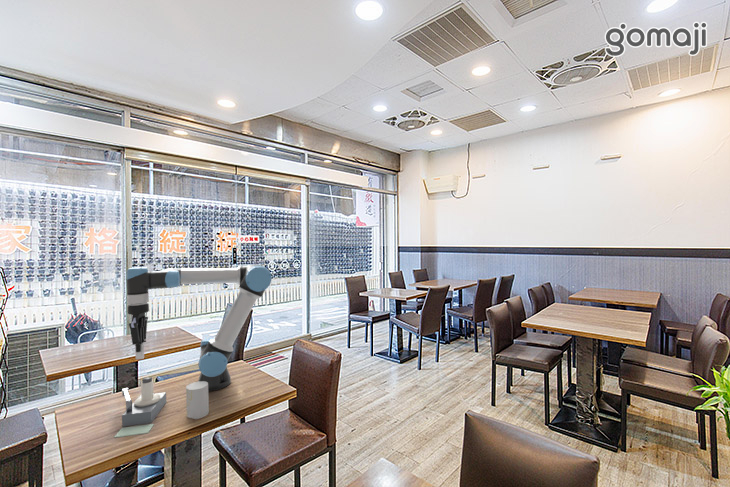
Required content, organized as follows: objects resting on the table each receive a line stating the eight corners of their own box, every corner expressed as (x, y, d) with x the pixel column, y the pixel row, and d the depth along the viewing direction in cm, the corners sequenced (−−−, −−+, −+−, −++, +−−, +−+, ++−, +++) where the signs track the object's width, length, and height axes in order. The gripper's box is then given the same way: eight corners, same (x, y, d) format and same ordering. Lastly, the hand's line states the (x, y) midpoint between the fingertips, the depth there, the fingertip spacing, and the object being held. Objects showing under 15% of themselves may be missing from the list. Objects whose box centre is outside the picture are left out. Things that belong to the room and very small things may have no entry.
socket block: (166, 403, 148) (166, 392, 148) (151, 424, 131) (151, 411, 131) (140, 406, 146) (140, 394, 146) (122, 428, 129) (121, 415, 129)
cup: (187, 411, 141) (187, 383, 141) (209, 407, 144) (208, 379, 144) (185, 421, 133) (185, 391, 133) (208, 416, 136) (207, 387, 136)
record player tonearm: (128, 396, 144) (127, 387, 144) (132, 411, 132) (132, 400, 132) (122, 398, 143) (122, 388, 143) (126, 412, 130) (126, 402, 130)
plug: (164, 405, 145) (163, 373, 145) (156, 416, 136) (155, 381, 136) (140, 408, 143) (139, 375, 143) (130, 419, 134) (129, 384, 134)
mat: (154, 425, 130) (154, 423, 130) (148, 434, 124) (148, 432, 124) (121, 429, 128) (121, 427, 128) (114, 439, 122) (114, 436, 122)
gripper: (135, 301, 148) (136, 354, 149) (120, 307, 136) (122, 365, 136) (154, 300, 150) (155, 352, 150) (141, 306, 137) (143, 363, 138)
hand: (140, 358), depth 143 cm, fingers closed
